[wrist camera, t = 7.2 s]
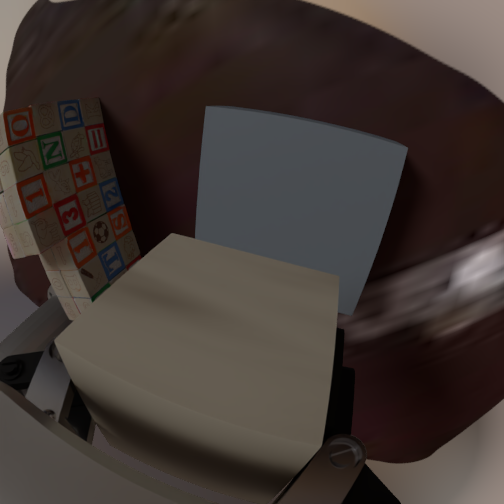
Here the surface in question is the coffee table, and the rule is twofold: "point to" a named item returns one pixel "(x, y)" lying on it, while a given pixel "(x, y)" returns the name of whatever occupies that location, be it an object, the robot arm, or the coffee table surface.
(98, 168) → the stack of blocks
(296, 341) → the cream block
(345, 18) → the coffee table surface
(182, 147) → the coffee table surface
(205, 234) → the slate base plinth
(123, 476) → the robot arm
